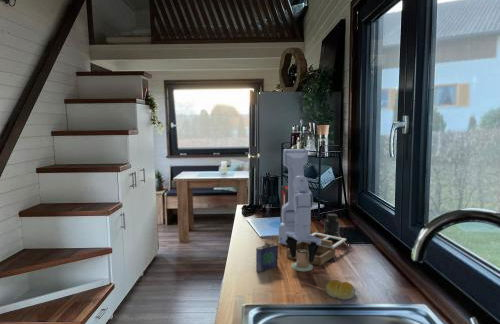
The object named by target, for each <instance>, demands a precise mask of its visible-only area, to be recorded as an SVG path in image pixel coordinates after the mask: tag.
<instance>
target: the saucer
mask: <svg viewBox="0 0 500 324" xmlns="http://www.w3.org/2000/svg"><path fill="white" fill-rule="evenodd" d="M291 268H292V269H293V270H295V271H299V272H308V271H309V272H310V271H311V270H313V269H314V264H312V263H308V267H306V268H300V267H297V261H295V262H292V264H291Z"/></svg>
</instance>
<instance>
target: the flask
mask: <svg viewBox="0 0 500 324" xmlns="http://www.w3.org/2000/svg"><path fill="white" fill-rule="evenodd" d="M255 251H256V252H255V254H256V255H255V261H256V262H255V263H256V264H255V265H256V266H255V267H256V269H255V270H256V272H257V273H263V272H266V271H267V270H269V269H275V268H278V259H279V258H278V253H279V245H278V243H274V242H273V243H272V242H271V243H269V241H268V240H265V241H264V244H263V245H261V246H258V247H256V250H255Z"/></svg>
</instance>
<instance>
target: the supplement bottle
mask: <svg viewBox="0 0 500 324" xmlns="http://www.w3.org/2000/svg"><path fill="white" fill-rule="evenodd" d="M323 225H324V227H323V232H324V233H323V234H325V235H330V236H335V237H340V226H341V225H340V221H339V220H338V214H336V213H327V214H326V219H325V220H324V224H323ZM324 238H326V237H324V236H323V239H324ZM327 240H329V241H332V243H335V242H336V243H337V242H339V241H340V240H339V239H334V238H328V239H327Z"/></svg>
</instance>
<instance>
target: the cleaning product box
mask: <svg viewBox="0 0 500 324" xmlns="http://www.w3.org/2000/svg"><path fill="white" fill-rule="evenodd" d="M279 193H280V198H279V199H280V204H279V205H280V206H279V207H280V219H279V221H280V223H281V222H282V220H281V212H282V206H283V205H285V204H286V203H287V202H288V184H287V185H280V192H279Z"/></svg>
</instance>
